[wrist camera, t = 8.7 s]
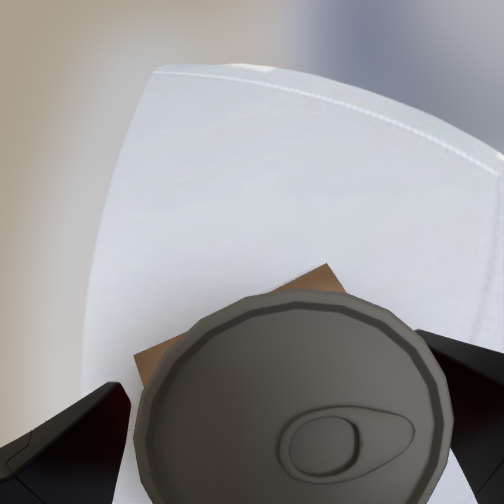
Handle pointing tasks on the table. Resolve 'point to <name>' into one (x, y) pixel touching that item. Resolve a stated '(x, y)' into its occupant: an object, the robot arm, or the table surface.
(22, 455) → the robot arm
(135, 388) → the table surface
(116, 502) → the table surface
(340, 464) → the beer can
